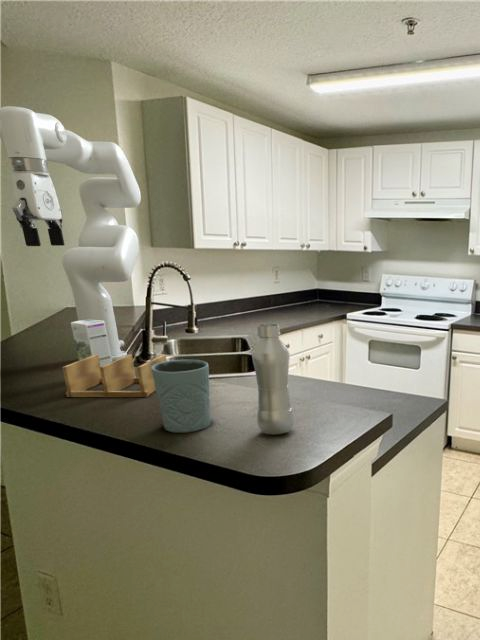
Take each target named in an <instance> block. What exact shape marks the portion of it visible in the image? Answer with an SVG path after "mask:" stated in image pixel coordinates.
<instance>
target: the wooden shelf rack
mask: <svg viewBox="0 0 480 640" xmlns="http://www.w3.org/2000/svg"><path fill="white" fill-rule="evenodd" d="M166 361H167V355H166V354H164V353H163V354H160V355H159V356H157V357H154V358H153V359H151V360H149V361H147V362H145V363H142V364H140V365H139V366H137V367H136V368H135V364H134V358H133V354H132V353H129V354H127V355H126V356H124V357H122V358H119V359H117V360H114V361H112V362H110V363H108V364H106V365H103V366H101V367H100V361H99V356H98V354H95V355H92V356H90V357H87V358H84V359H82V360H79V359H78V360H76V361H74V362H72V363H68V364H66V365H64V366H62V367H61V368H62V373H63V377H64V382H65V387H66V391H65V394H66V398H148V397H150V395H151V394H153V393H154V392H156V388H155V383H154V378H153V374H152V369H151V367H152V366H153V365H155V364H157V363H161V362H166ZM135 369H136V370H137V375H136V370H135ZM101 383H102V387H103V388H102V389H103V390H90V389H92V388H93V387H95V386H97V385H100V384H101ZM133 384H139V387H140V390H124V389H126V388H128V387H130V386H131V385H133Z"/></svg>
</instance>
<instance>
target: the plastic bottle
mask: <svg viewBox="0 0 480 640" xmlns="http://www.w3.org/2000/svg"><path fill="white" fill-rule="evenodd" d="M256 328H257V337H259V340H258V341H257V343H256V344H255V346H254V347H253V350H252V354H251V358H252V363H253V364H252V365H253V369H254V372H255V376H256V384H257V390H258V397H257V402H258V404H257V405H258V406H257V407H258V409H257V414H256V416H257V418H256V423H257V426H258V429H259V430H260V431H261V433H263V434H264V435H265V434H266V435H282V434H287V433H288V432H290V431H292V428H293V426H294V421H295V417H294V411H293V408H292V404H291V398H290V392H289V373H290V372H289V371H290V359H291V358H290V355H291V354H290V352H289V349H288V348H287V346H286V345H285V343H284V342H283V341H282V340H281V339H280V336H281V331H280V325H279V324H278V323H260V324H257V327H256Z"/></svg>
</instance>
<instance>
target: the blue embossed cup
mask: <svg viewBox="0 0 480 640" xmlns="http://www.w3.org/2000/svg"><path fill="white" fill-rule="evenodd" d="M151 369H152V374H153V378H154V383H155V388H156V391H155V393H156V397H157V400H158V406H159V410H160V414H161V419H162V423H163V428H164V429H165V431H167V432H171V433H178V434H179V433H181V434H183V433H192V432H197V431H201V430H204V429H206V428H208V427H209V426H210V425H211V422H212V421H211V420H212V419H211V400H210V396H211V395H210V394H211V393H210V367H209V363H208V362H207V361H205V360H201V359H174V360H166V362H161V363H157V364H155V365H153V366H152V367H151Z"/></svg>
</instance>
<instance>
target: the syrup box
mask: <svg viewBox="0 0 480 640" xmlns="http://www.w3.org/2000/svg"><path fill="white" fill-rule="evenodd" d="M70 327H71V331H72V336H73V340H74V344H75V349H76V354H77V359H78V361H79V360H82V359H84V358H87V357H90V356H92V355H95V354H98V356H99V361H100V367H101V366H103V365H106V364H108V363H110V362H112V357H111V352H110V347H109V342H108V336H107V331H106V326H105V322H104V321H100V320H79V321H78V320H75V321H72V322H70Z"/></svg>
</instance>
